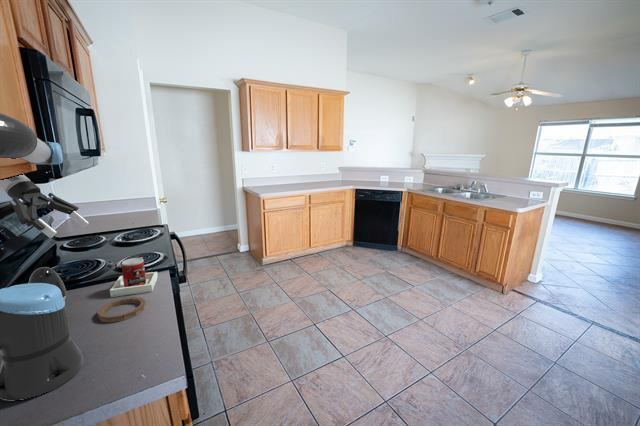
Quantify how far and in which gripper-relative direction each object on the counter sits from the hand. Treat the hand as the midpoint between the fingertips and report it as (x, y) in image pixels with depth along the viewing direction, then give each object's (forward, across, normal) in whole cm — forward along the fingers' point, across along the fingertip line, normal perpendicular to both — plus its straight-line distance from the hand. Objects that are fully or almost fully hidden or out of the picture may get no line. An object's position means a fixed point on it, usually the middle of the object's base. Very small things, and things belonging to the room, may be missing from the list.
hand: (71, 230), depth 98 cm
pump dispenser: (+14, +4, -26) cm, 29 cm away
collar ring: (+33, +7, -6) cm, 34 cm away
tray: (+28, -12, -11) cm, 33 cm away
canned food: (+28, -12, -10) cm, 32 cm away
